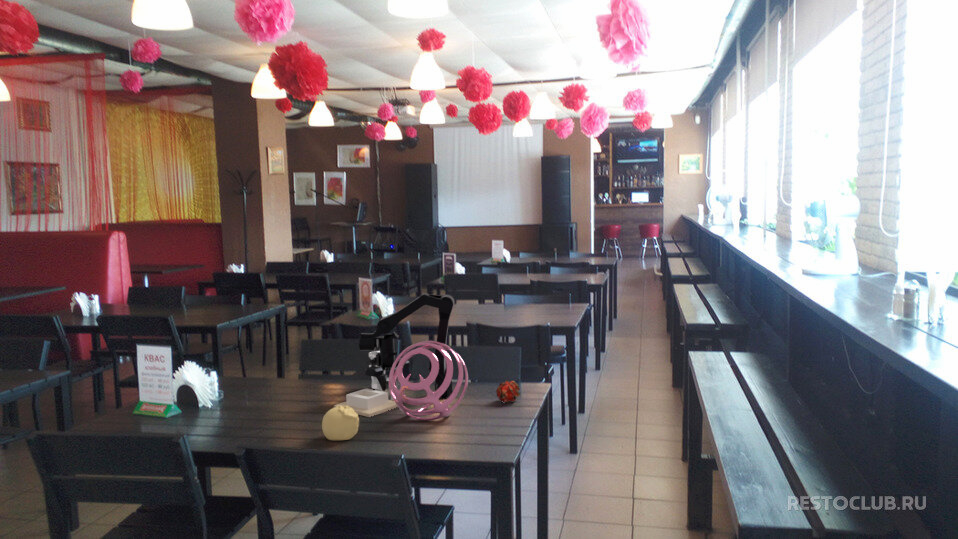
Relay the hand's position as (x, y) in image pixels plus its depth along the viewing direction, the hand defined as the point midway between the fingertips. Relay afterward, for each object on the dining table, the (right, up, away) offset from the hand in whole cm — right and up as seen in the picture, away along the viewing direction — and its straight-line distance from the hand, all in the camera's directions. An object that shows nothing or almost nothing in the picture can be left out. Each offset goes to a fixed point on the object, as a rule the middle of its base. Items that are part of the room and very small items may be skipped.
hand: (389, 389), depth 272 cm
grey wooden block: (0, -4, 0) cm, 4 cm away
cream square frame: (-7, -5, -11) cm, 14 cm away
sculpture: (-10, -9, -44) cm, 46 cm away
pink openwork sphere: (+17, -6, -26) cm, 32 cm away
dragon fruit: (+46, -3, -12) cm, 48 cm away
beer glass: (-6, -3, +16) cm, 17 cm away
